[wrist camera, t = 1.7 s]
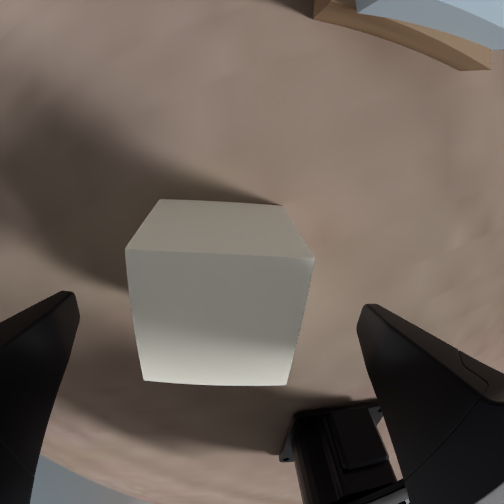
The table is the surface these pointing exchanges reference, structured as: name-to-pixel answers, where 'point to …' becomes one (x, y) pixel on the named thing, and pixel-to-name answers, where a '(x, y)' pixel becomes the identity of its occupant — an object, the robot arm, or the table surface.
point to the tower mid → (446, 17)
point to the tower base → (407, 35)
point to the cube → (217, 292)
